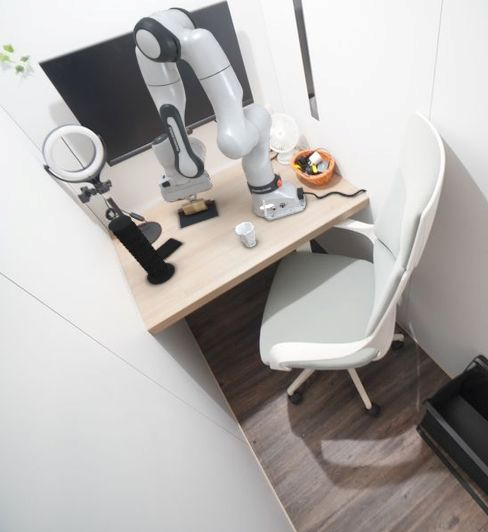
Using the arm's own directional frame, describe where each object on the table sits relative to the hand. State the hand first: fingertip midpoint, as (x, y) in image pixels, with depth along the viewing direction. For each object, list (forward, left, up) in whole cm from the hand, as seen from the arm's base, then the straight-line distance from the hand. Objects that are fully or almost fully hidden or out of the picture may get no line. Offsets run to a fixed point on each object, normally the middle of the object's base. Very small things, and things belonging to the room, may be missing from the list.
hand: (194, 202), depth 141 cm
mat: (-1, +5, -3) cm, 6 cm away
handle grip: (+8, +38, -3) cm, 39 cm away
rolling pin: (-1, +4, -3) cm, 5 cm away
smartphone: (+10, +27, -3) cm, 29 cm away
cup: (-24, +29, -3) cm, 38 cm away
